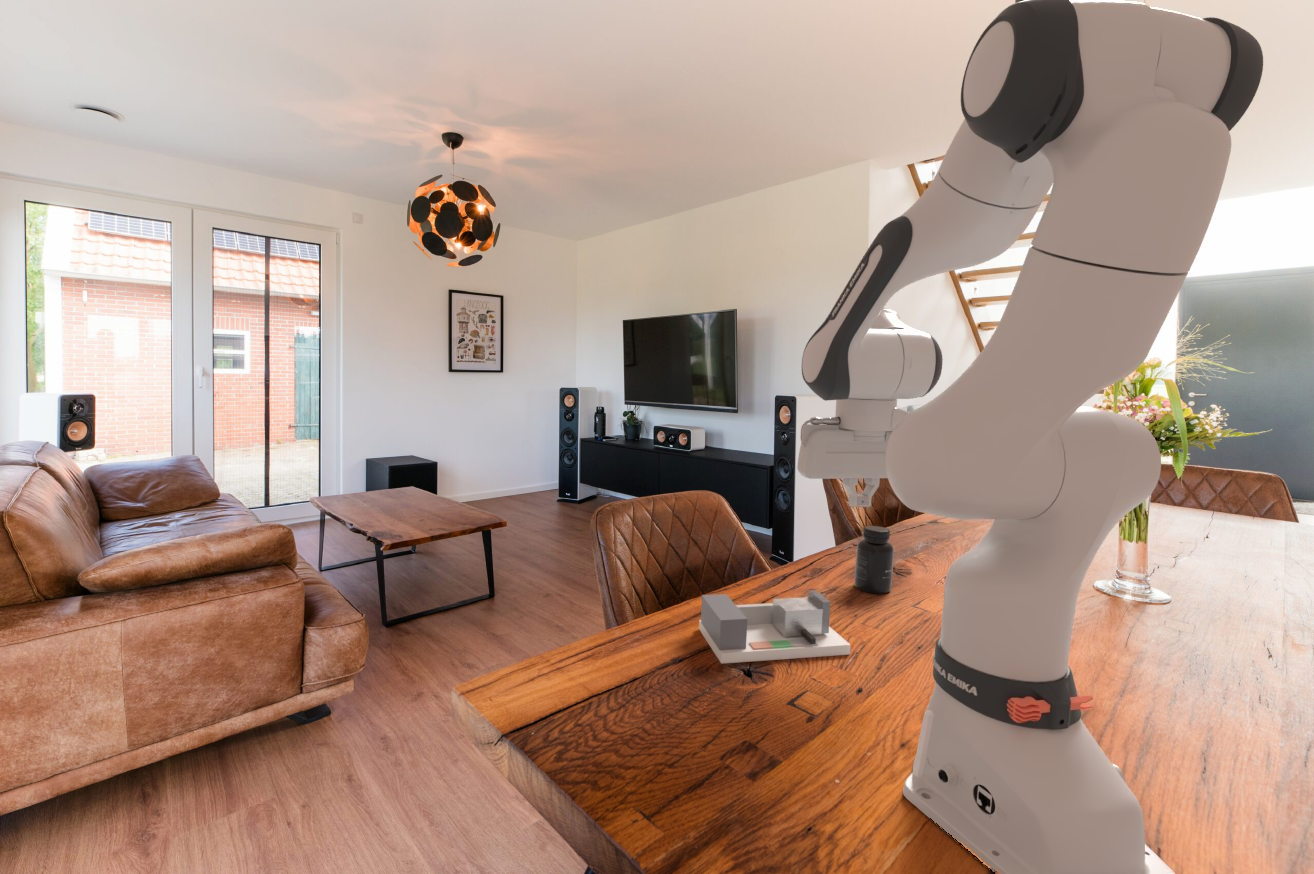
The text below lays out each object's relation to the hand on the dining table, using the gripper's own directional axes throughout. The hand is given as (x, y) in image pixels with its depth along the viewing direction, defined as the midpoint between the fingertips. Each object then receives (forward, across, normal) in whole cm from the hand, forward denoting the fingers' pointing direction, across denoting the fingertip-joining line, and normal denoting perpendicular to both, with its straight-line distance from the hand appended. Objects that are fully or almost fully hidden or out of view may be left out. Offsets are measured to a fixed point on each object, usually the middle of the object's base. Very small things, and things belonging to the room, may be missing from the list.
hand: (859, 506), depth 97 cm
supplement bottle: (+21, +16, +20) cm, 33 cm away
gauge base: (+21, -14, 0) cm, 25 cm away
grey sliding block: (+19, -9, -2) cm, 21 cm away
